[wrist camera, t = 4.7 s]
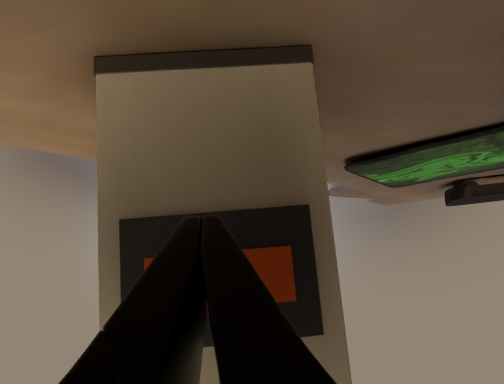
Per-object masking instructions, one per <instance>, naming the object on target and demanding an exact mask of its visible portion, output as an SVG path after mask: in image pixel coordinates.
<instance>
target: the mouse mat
mask: <svg viewBox="0 0 504 384" xmlns="http://www.w3.org/2000/svg"><path fill="white" fill-rule="evenodd" d="M344 168H345V170H346V171H348V172H350V173H353V174H356V175H358V176H361V177H364V178H367V179H369V180H372V181H374V182H377V183H380V184H382V185H385V186H388V187H394V188H396V187H405V186H410V185H415V184H419V183H424V182H429V181H434V180H440V179H445V178H451V177H456V176H462V175H467V174H473V173H479V172H484V171H490V170H496V169H501V168H504V126H502V127H498V128H494V129H489V130H485V131H481V132H478V133H474V134H470V135H466V136H461V137H457V138H451V139H448V140H444V141H439V142H435V143H430V144H425V145H422V146H418V147H414V148H411V149H407V150H404V151H400V152H397V153H394V154H390V155H386V156H382V157H377V158H373V159H368V160H363V161H358V162H353V163H350V164H347V165H346V166H345V167H344Z"/></svg>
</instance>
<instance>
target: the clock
mask: <svg viewBox="0 0 504 384" xmlns="http://www.w3.org/2000/svg"><path fill="white" fill-rule="evenodd" d="M313 62H314V60H313V52H312V46H296V47H277V48H258V49H238V50H219V51H200V52H180V53H161V54H142V55H122V56H103V57H94V75H95V76H96V126H97V193H98V194H97V196H98V266H99V331H101V330H103V326H104V325H105V324H106V322H107V321H108V319H109V318H110V317H111V315H112V314H113V313H114V311H115V310H116V309H117V307H118V306H119V305H120V303H121V302H122V301H123V299H124V298H125V296H126V295H127V294H128V292H129V291H130V290H131V288H132V287H133V286H134V284H135V283H136V282H137V280H138V279H139V278H140V276H141V275H142V274H143V272H144V271H145V269H146V268H147V267H148V265H149V264H150V263H151V261H152V260H153V259H154V257H155V256H156V255H157V253H158V252H159V251H160V249H161V248H162V246H163V245H164V244H165V242H166V241H167V240H168V238H169V237H170V236H171V234H172V233H173V232H174V230H175V229H176V228H177V226H178V225H179V223H180V222H181V221H182V219H183V218H185V217H192V216H200V217H201V218H202V217H203V216H205V215H219V216H220V217H221V218H222V220H223V221H224V223H225V224H226V226H227V227H228V229H229V230H230V232H231V233H232V235H233V236H234V238H235V240H236V241H237V243H238V244H239V246H240V247H241V249H242V250H243V252H244V253H245V255H246V256H247V258H248V259H249V261H250V262H251V264H252V265H253V267H254V269H255V270H256V272H257V273H258V275H259V276H260V278H261V279H262V281H263V282H264V284H265V285H266V287H267V288H268V290H269V291H270V293H271V294H272V296H273V297H274V299H275V301H276V302H277V304H278V305H279V307H280V308H281V310H282V313H284V314H285V315H286V317H287V319H288V320H289V322H290V323H291V325H292V326H293V328H294V329H295V330H296V332H297V333H298V335H299V336H300V338H301V339H302V340H303V342H304V343H305V345H306V346H307V347H308V349H309V350H310V351H311V352H312V354H313V355H314V356H315V357H316V359H317V360H318V361H319V362H320V364H321V365H322V366H323V367H324V369H325V370H326V371H327V372H328V373H329V375H330V376H331V377H332V378H333V379H334V381H335V382H336V383H337V384H352V380H351V372H350V364H349V356H348V348H347V341H346V332H345V324H344V316H343V308H342V300H341V292H340V283H339V275H338V268H337V259H336V251H335V243H334V235H333V227H332V219H331V210H330V203H329V194H328V186H327V178H326V170H325V162H324V154H323V146H322V138H321V129H320V121H319V113H318V105H317V97H316V89H315V81H314V73H313ZM199 384H220V383H219V377H218V371H217V364H216V358H215V351H214V345H213V339H212V332H211V326H210V320H209V313H208V306H207V313H206V324H205V334H204V344H203V354H202V363H201V373H200V383H199Z"/></svg>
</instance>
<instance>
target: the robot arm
mask: <svg viewBox="0 0 504 384" xmlns="http://www.w3.org/2000/svg"><path fill="white" fill-rule="evenodd" d="M207 306H208V313H209V320H210V326H211V332H212V339H213V345H214V351H215V358H216V364H217V371H218V377H219V383H220V384H337V383H336V382H335V381H334V379H333V378H332V377H331V376H330V375H329V373H328V372H327V371H326V370H325V369H324V367H323V366H322V365H321V364H320V362H319V361H318V360H317V359H316V357H315V356H314V355H313V354H312V352H311V351H310V350H309V349H308V347H307V346H306V345H305V343H304V342H303V340H302V339H301V338H300V336H299V335H298V333H297V332H296V330H295V329H294V328H293V326H292V325H291V323H290V322H289V320H288V319H287V317H286V315H285V314H284V313H282V310H281V308H280V307H279V305H278V304H277V302H276V301H275V299H274V297H273V296H272V294H271V293H270V291H269V290H268V288H267V287H266V285H265V284H264V282H263V281H262V279H261V278H260V276H259V275H258V273H257V272H256V270H255V269H254V267H253V265H252V264H251V262H250V261H249V259H248V258H247V256H246V255H245V253H244V252H243V250H242V249H241V247H240V246H239V244H238V243H237V241H236V240H235V238H234V236H233V235H232V233H231V232H230V230H229V229H228V227H227V226H226V224H225V223H224V221H223V220H222V218H221V217H220V216H219V215H205V216H203V217H202V218H201V217H200V216H192V217H185V218H183V219H182V221H181V222H180V223H179V225H178V226H177V228H176V229H175V230H174V232H173V233H172V234H171V236H170V237H169V238H168V240H167V241H166V242H165V244H164V245H163V246H162V248H161V249H160V251H159V252H158V253H157V255H156V256H155V257H154V259H153V260H152V261H151V263H150V264H149V265H148V267H147V268H146V269H145V271H144V272H143V274H142V275H141V276H140V278H139V279H138V280H137V282H136V283H135V284H134V286H133V287H132V288H131V290H130V291H129V292H128V294H127V295H126V296H125V298H124V299H123V301H122V302H121V303H120V305H119V306H118V307H117V309H116V310H115V311H114V313H113V314H112V315H111V317H110V318H109V319H108V321H107V322H106V324H105V325H104V326H103V330H101V331H99V333H98V334H97V335H96V337H95V338H94V340H93V341H92V342H91V344H90V345H89V346H88V348H87V349H86V350H85V352H84V353H83V354H82V355H81V357H80V358H79V359H78V360H77V362H76V363H75V364H74V366H73V367H72V368H71V369H70V371H69V372H68V373H67V374H66V375H65V377H64V378H63V379H62V380H61V381H60V383H59V384H199V383H200V373H201V363H202V354H203V344H204V334H205V324H206V313H207Z"/></svg>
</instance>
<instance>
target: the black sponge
mask: <svg viewBox="0 0 504 384" xmlns="http://www.w3.org/2000/svg"><path fill="white" fill-rule="evenodd" d="M500 200H504V176H496V177H487V178H478V179H470V180H463V181H461V182H459V183H457V184H455V185H454V186H453V187H452V188H450V189H448V190H446V191H445V202H446V206H457V205H466V204H474V203H483V202H492V201H500Z"/></svg>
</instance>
